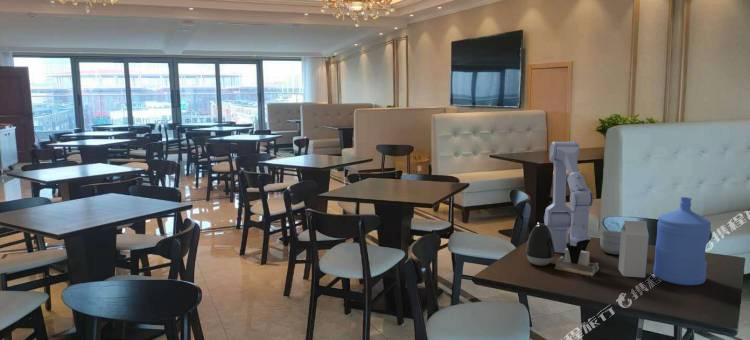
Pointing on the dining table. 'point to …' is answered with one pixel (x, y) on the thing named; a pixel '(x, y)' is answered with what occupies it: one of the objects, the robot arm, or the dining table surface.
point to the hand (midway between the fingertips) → (577, 260)
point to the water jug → (681, 246)
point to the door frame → (576, 267)
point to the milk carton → (633, 249)
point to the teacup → (610, 241)
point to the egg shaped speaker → (540, 246)
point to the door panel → (582, 258)
